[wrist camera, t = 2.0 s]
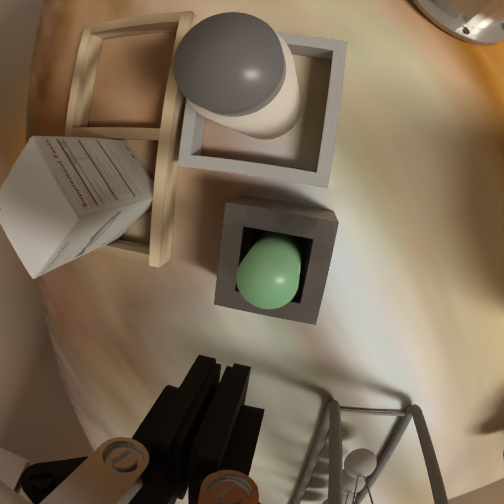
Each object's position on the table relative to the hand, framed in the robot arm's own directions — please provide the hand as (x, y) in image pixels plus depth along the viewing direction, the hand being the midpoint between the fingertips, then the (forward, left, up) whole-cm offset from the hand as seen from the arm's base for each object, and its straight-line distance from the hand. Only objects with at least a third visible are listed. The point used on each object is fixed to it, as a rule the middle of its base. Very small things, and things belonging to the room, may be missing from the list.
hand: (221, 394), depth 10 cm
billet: (-12, -3, -19) cm, 23 cm away
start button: (0, 0, -17) cm, 17 cm away
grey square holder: (0, 0, -19) cm, 19 cm away
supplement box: (-3, -16, -19) cm, 25 cm away
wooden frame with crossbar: (-9, -16, -19) cm, 26 cm away
